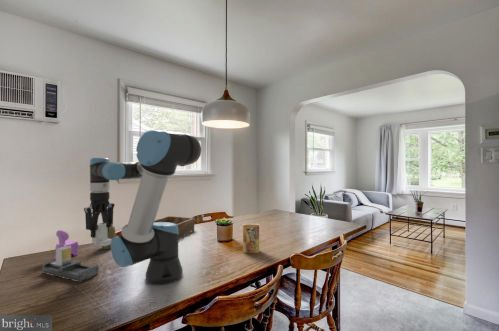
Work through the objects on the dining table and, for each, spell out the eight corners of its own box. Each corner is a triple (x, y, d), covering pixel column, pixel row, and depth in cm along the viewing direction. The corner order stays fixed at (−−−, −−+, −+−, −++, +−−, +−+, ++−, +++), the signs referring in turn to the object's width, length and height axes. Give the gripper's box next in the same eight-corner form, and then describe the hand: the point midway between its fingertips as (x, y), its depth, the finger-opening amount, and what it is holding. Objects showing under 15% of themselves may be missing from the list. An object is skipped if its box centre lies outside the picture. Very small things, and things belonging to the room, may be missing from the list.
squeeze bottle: (114, 244, 145) (114, 214, 145) (118, 247, 139) (118, 216, 139) (98, 247, 139) (98, 216, 139) (102, 251, 133) (102, 219, 133)
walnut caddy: (194, 230, 175) (194, 218, 175) (165, 244, 145) (165, 229, 145) (168, 227, 182) (168, 215, 182) (136, 240, 153) (136, 226, 153)
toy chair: (80, 255, 128) (80, 227, 127) (63, 261, 119) (63, 231, 119) (69, 253, 130) (69, 226, 130) (51, 259, 122) (51, 230, 122)
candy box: (258, 250, 135) (258, 223, 135) (259, 253, 131) (259, 225, 131) (243, 250, 135) (243, 223, 135) (243, 253, 131) (243, 225, 131)
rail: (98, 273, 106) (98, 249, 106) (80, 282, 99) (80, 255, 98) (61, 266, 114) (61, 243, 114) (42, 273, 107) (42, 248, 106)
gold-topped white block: (112, 243, 110) (112, 223, 110) (104, 246, 106) (104, 226, 106) (99, 241, 113) (99, 222, 112) (91, 244, 109) (91, 224, 109)
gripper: (87, 194, 100) (87, 250, 100) (121, 190, 116) (122, 238, 116) (75, 193, 103) (75, 247, 103) (110, 189, 119) (110, 236, 119)
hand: (100, 242), depth 110 cm, fingers closed on gold-topped white block, 4 cm apart
